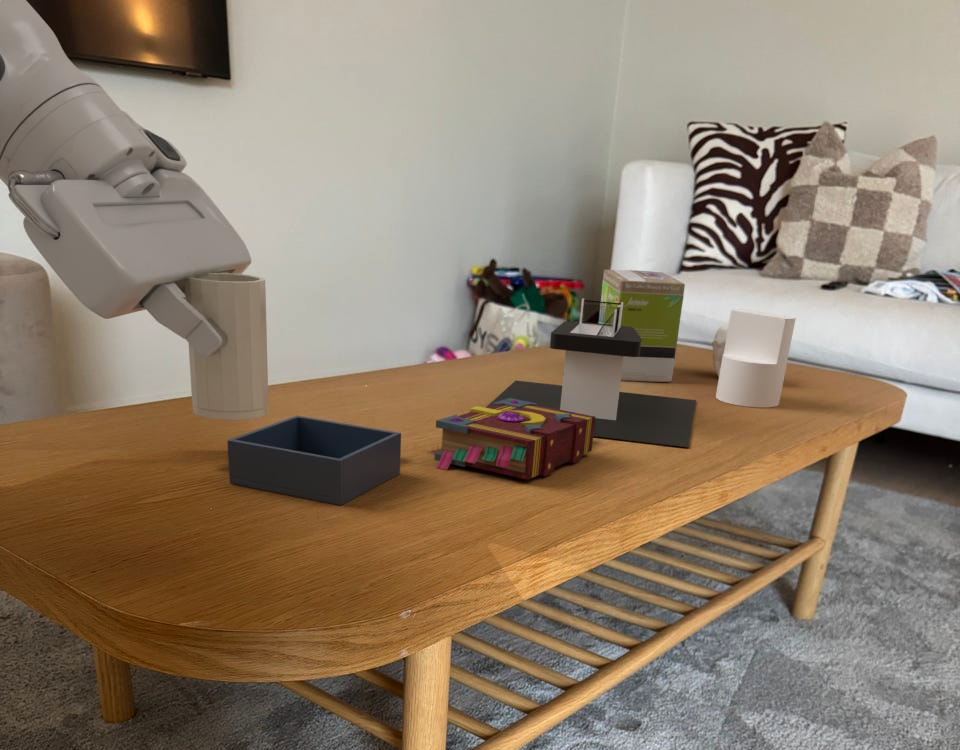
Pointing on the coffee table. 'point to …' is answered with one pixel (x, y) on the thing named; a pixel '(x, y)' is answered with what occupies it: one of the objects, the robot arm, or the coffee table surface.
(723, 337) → the penguin figurine
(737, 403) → the base with upright slab
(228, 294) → the cream cup
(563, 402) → the black-topped pedestal
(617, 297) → the tea box
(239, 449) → the slate bin
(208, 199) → the robot arm
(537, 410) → the decorative book
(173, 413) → the coffee table surface
